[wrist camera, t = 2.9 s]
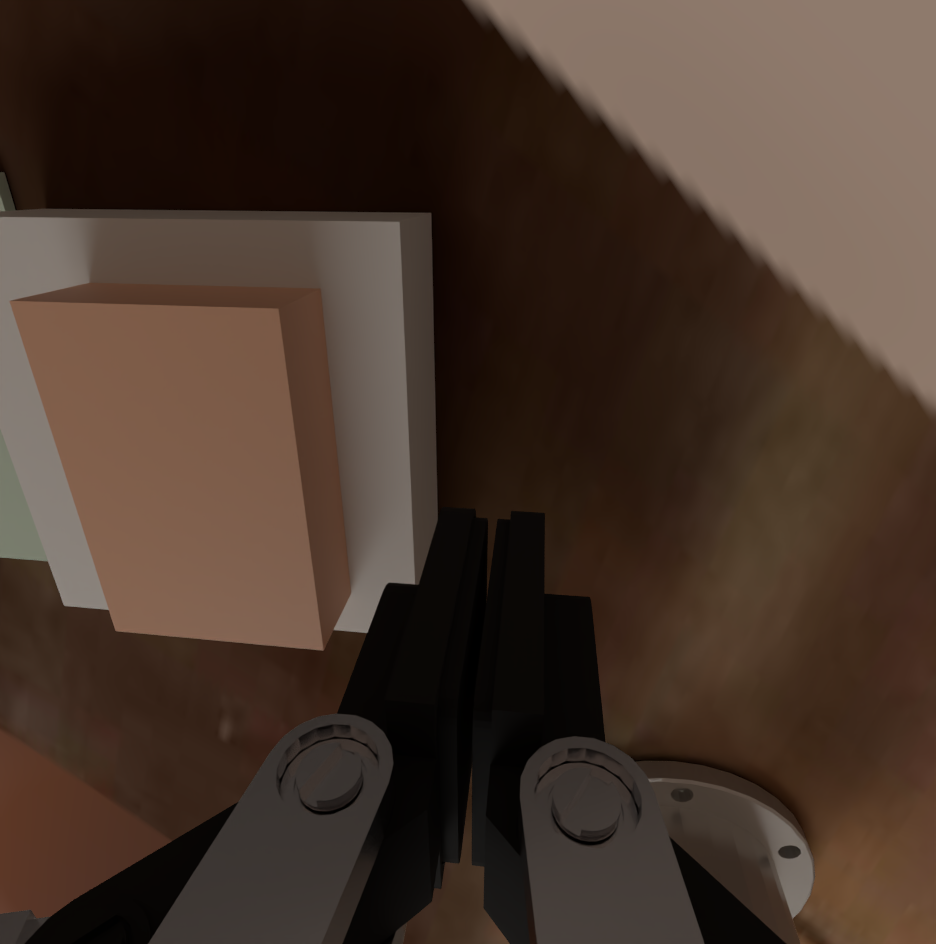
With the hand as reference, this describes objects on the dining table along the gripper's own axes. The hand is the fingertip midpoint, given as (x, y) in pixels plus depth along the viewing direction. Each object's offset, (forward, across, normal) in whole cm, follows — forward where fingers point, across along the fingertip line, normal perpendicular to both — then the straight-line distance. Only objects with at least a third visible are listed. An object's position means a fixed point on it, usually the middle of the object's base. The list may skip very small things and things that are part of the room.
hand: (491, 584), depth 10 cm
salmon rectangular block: (+6, +8, +1) cm, 10 cm away
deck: (+10, +9, +1) cm, 13 cm away
